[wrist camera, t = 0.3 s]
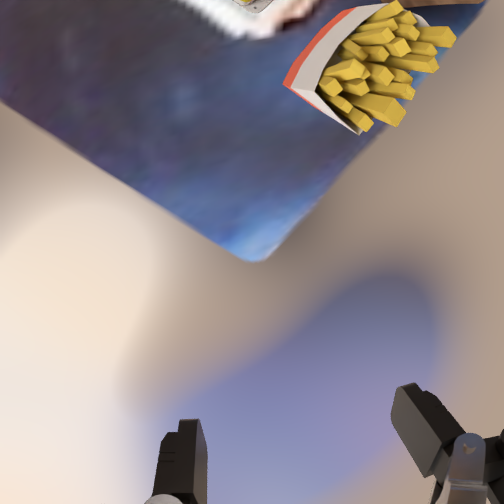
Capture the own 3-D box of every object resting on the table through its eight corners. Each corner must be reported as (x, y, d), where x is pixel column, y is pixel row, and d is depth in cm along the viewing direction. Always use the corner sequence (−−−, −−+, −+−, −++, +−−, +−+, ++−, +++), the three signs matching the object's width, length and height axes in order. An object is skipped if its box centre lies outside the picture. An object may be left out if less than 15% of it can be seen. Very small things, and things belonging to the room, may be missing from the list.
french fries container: (275, 80, 31) (326, 104, 17) (331, 10, 27) (422, -12, 12) (307, 103, 33) (378, 149, 18) (362, 36, 29) (465, 39, 14)
